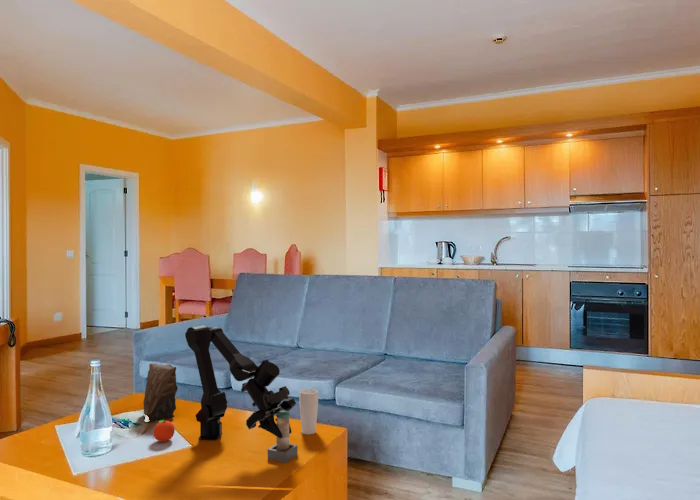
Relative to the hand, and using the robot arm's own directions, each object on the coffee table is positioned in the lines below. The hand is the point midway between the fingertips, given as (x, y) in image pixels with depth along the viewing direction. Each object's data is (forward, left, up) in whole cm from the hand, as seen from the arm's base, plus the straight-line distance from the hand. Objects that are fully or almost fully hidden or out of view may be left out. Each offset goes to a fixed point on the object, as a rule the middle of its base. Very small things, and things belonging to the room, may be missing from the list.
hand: (286, 435), depth 160 cm
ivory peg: (-1, +1, -7) cm, 7 cm away
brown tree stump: (-58, +35, -8) cm, 68 cm away
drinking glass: (+4, +23, -8) cm, 24 cm away
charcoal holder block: (-1, +1, -8) cm, 8 cm away
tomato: (-45, +12, -8) cm, 47 cm away
